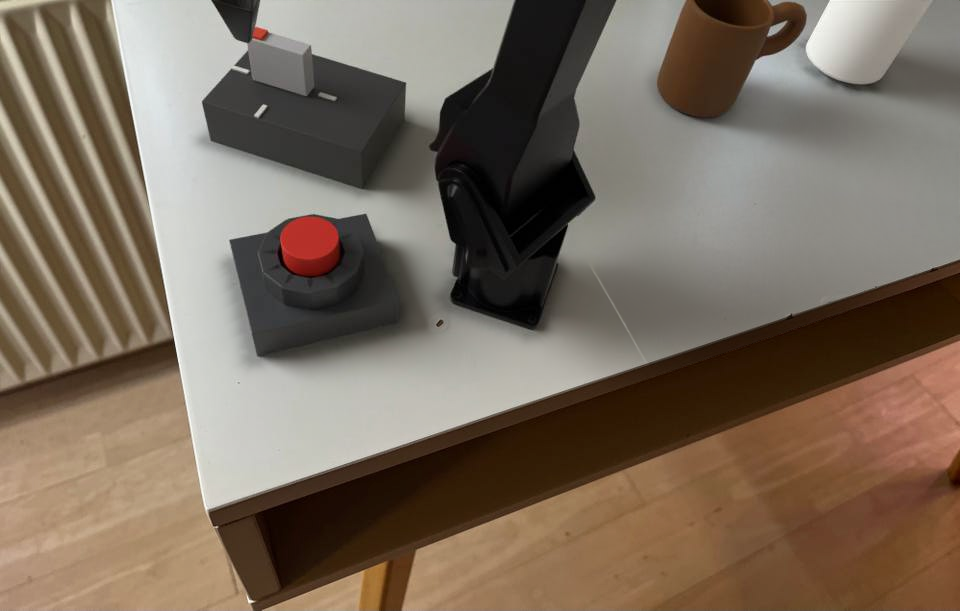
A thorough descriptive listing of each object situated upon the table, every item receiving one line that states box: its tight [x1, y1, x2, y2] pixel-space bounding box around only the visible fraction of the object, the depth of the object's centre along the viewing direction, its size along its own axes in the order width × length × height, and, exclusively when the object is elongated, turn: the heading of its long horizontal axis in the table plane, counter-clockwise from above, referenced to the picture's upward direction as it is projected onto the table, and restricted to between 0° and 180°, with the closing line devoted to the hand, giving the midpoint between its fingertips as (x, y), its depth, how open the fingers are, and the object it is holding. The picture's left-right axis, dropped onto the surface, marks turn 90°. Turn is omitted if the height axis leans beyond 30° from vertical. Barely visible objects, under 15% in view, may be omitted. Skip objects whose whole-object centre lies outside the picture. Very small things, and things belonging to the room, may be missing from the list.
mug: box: [656, 0, 808, 118], centre depth 67 cm, size 12×8×9 cm, turn 104°
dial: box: [246, 26, 314, 96], centre depth 56 cm, size 5×1×4 cm, turn 72°
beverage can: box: [805, 0, 934, 85], centre depth 71 cm, size 8×8×12 cm
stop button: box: [280, 217, 340, 277], centre depth 47 cm, size 4×4×2 cm
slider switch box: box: [201, 50, 407, 190], centre depth 59 cm, size 13×9×4 cm
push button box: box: [228, 213, 400, 357], centre depth 50 cm, size 10×8×4 cm
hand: (275, 5), depth 53 cm, fingers open, 9 cm apart
